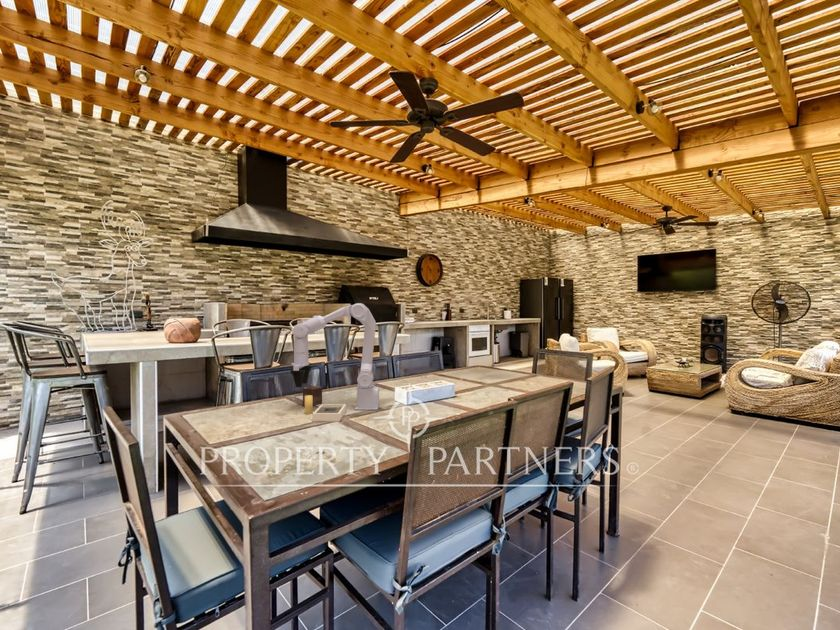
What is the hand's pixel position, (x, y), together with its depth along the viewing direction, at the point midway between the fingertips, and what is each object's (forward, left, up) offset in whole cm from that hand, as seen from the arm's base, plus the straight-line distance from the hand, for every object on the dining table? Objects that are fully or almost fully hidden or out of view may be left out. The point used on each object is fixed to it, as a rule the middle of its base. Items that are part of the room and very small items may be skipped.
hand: (301, 385), depth 168 cm
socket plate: (-14, +11, -10) cm, 20 cm away
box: (-2, -8, -10) cm, 13 cm away
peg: (-5, +7, -10) cm, 13 cm away
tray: (-14, +11, -10) cm, 20 cm away
